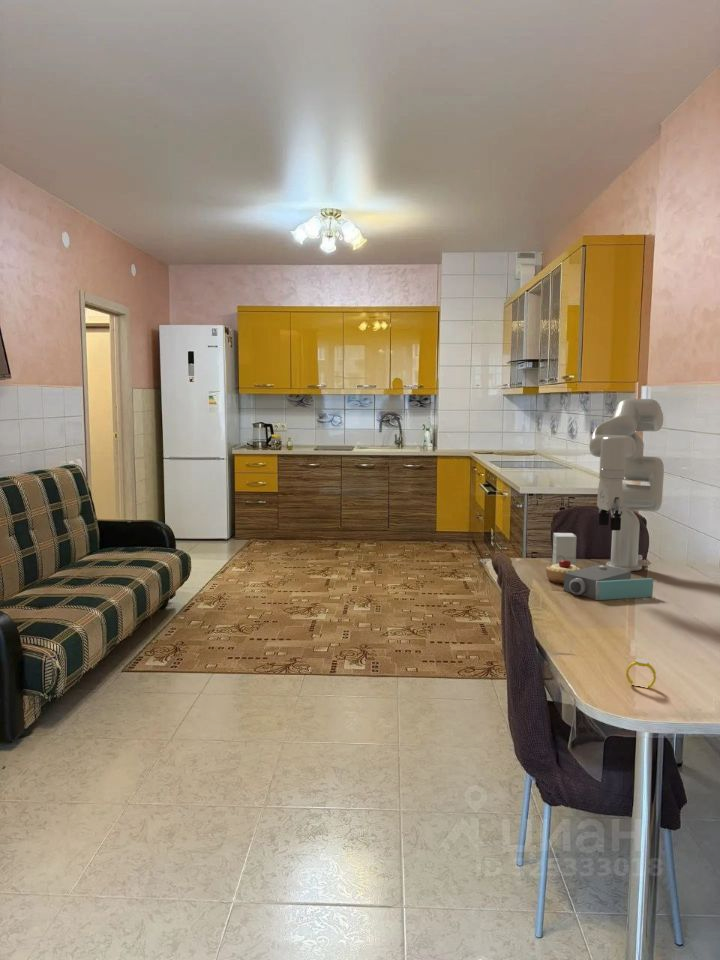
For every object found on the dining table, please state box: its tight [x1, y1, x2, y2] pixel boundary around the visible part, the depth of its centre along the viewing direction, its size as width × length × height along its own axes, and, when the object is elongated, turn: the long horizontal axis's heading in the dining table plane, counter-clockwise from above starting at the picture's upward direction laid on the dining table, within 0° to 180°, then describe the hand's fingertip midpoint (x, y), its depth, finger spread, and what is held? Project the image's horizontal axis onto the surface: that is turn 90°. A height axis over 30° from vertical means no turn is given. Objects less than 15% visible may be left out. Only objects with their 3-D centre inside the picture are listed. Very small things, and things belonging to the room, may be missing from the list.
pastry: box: [545, 556, 581, 585], centre depth 241 cm, size 12×12×9 cm
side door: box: [594, 577, 654, 601], centre depth 220 cm, size 20×1×6 cm, turn 103°
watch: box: [625, 658, 657, 688], centre depth 152 cm, size 6×3×6 cm, turn 64°
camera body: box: [563, 564, 632, 599], centre depth 229 cm, size 22×12×7 cm, turn 128°
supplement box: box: [552, 532, 578, 566], centre depth 261 cm, size 7×7×13 cm
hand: (609, 527), depth 223 cm, fingers open, 9 cm apart
